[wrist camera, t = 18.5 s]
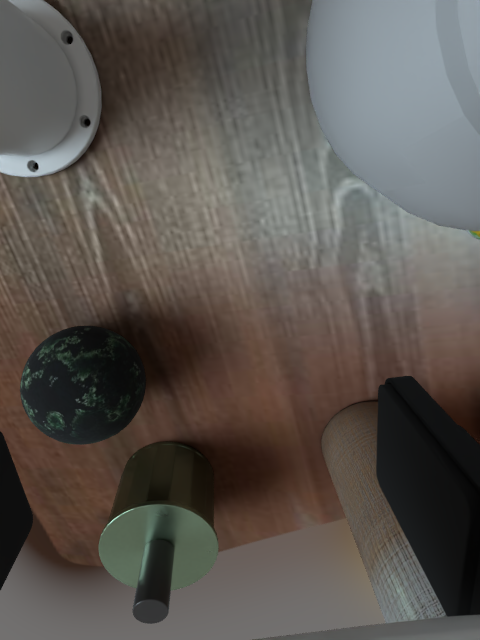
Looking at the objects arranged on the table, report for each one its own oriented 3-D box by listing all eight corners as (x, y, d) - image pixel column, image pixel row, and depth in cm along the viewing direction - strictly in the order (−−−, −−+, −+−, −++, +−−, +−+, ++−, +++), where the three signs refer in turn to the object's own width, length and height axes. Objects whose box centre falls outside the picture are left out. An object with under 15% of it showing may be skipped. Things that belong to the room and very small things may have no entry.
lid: (86, 564, 39) (62, 640, 33) (123, 480, 36) (104, 547, 29) (192, 591, 41) (188, 667, 35) (236, 514, 38) (241, 582, 32)
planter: (311, 470, 46) (435, 857, 20) (331, 394, 43) (512, 745, 17) (393, 477, 47) (609, 853, 22) (419, 404, 44) (714, 747, 18)
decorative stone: (36, 383, 40) (-17, 449, 31) (63, 294, 37) (13, 337, 28) (134, 414, 42) (111, 485, 33) (167, 331, 39) (152, 384, 30)
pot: (111, 498, 46) (89, 568, 38) (141, 429, 43) (124, 489, 35) (193, 522, 48) (189, 592, 40) (227, 457, 45) (230, 520, 37)
